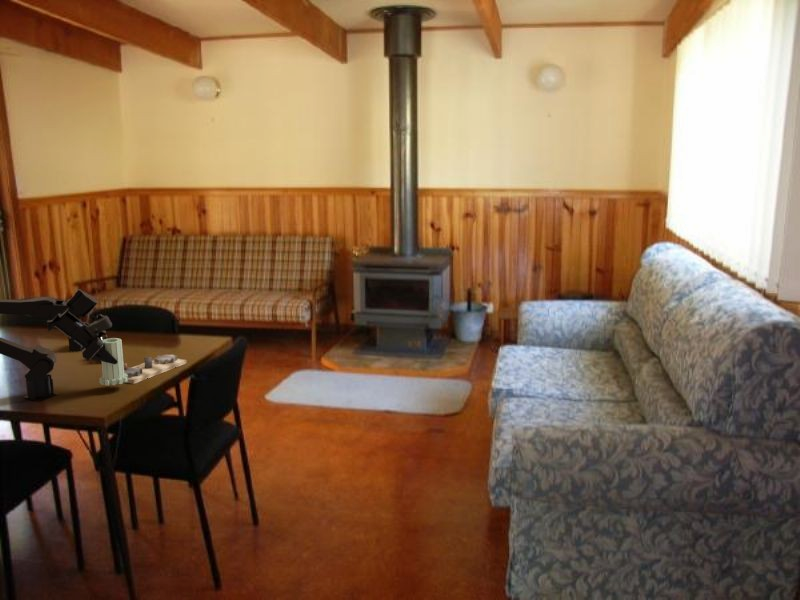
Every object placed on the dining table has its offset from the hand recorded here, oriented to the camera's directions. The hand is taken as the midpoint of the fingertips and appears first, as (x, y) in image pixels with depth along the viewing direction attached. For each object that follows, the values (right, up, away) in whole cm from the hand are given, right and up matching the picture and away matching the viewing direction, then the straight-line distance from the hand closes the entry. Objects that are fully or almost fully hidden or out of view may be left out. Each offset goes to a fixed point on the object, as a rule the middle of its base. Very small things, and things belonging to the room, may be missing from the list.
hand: (117, 360), depth 208 cm
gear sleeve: (-1, -7, +1) cm, 7 cm away
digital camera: (-33, 0, +49) cm, 59 cm away
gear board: (+2, -5, +20) cm, 21 cm away
